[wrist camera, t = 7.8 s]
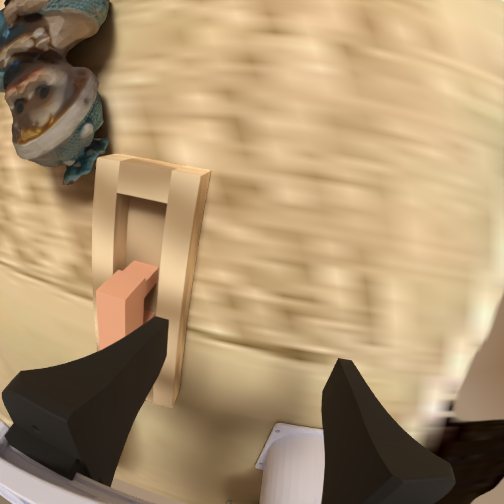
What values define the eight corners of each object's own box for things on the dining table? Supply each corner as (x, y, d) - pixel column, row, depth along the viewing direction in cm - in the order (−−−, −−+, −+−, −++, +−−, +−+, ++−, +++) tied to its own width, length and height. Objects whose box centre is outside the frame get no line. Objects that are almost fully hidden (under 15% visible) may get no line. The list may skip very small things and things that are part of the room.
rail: (179, 390, 28) (171, 409, 25) (112, 367, 28) (101, 383, 26) (211, 170, 20) (200, 176, 18) (116, 153, 20) (97, 157, 18)
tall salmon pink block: (154, 328, 25) (126, 372, 20) (131, 321, 25) (101, 363, 20) (159, 262, 22) (125, 300, 17) (134, 255, 22) (96, 290, 17)
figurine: (100, -61, 10) (80, 181, 13) (124, -3, 18) (121, 177, 21) (-18, -16, 8) (-42, 206, 12) (29, 22, 16) (22, 193, 20)
